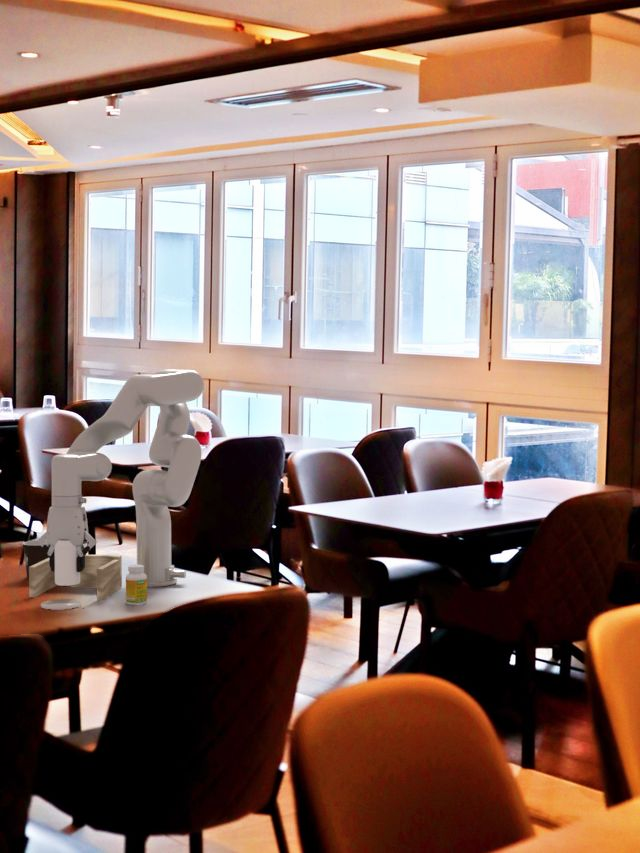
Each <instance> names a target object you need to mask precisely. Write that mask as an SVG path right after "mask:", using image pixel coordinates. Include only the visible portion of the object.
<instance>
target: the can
mask: <svg viewBox="0 0 640 853" xmlns="http://www.w3.org/2000/svg"><path fill="white" fill-rule="evenodd" d="M54 553H55V584H56V585H58V586H75V585H78V584H79V583H80V572H77V557H78V553H77V550H76V546H74V545H73V544H72V543H71V542H70V540H58V542H57V543H56V545H55V548H54Z"/></svg>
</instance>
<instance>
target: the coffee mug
mask: <svg viewBox="0 0 640 853" xmlns="http://www.w3.org/2000/svg"><path fill="white" fill-rule="evenodd" d="M45 541H46V543H47V540H45ZM47 544H48V543H47ZM48 545H49V544H48ZM49 546H51V545H49ZM22 548H23V557H24V562H25V569H26V570H25V571H26V577H27V578H28V579H27V580H29V567H30V566H32V565H34V564H36V563H39V562H41V561H43V560H45V559H47V558H49V555H48V554H47V552H46V551H45V550H44V549H43V547H42V546H41V545H40V544H39V543H38V540H29V541H28V540H27V541H24V542H22Z"/></svg>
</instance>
